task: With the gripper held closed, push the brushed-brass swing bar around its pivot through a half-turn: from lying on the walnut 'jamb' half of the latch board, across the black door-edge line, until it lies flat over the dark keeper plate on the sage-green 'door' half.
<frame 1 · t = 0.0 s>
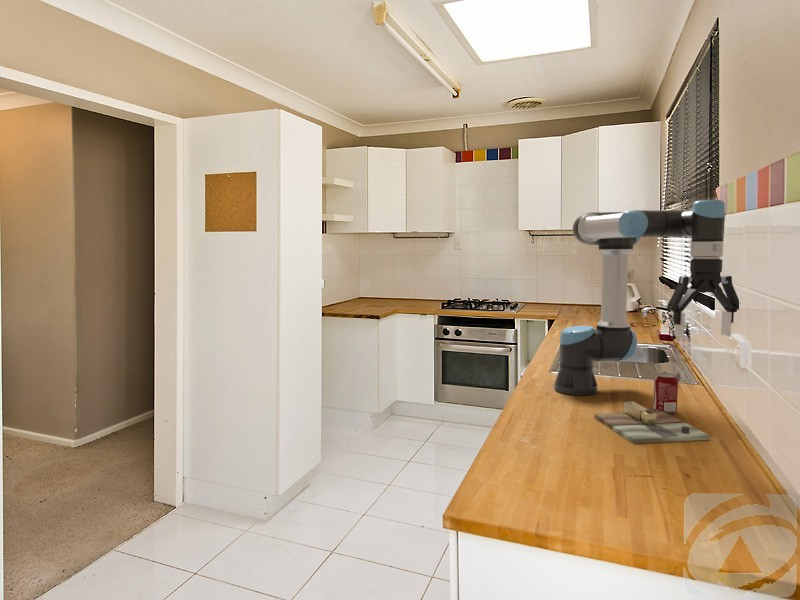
hand: (702, 335, 146), 28 cm above the counter, fingers open, 13 cm apart
latch board: (648, 427, 154), on the counter
swing bar: (640, 411, 159), point 4 cm above the counter, hinge at 0.0°
soda can: (664, 412, 170), on the counter
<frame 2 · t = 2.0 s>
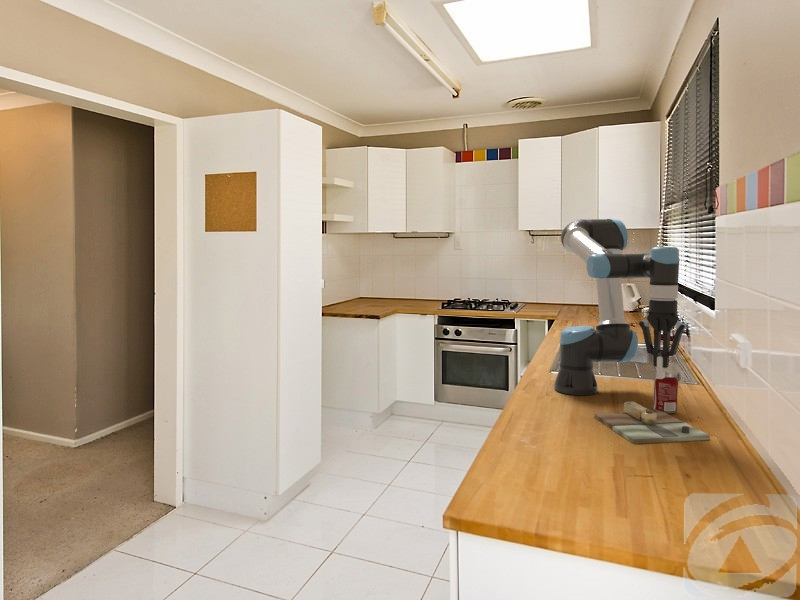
hand: (660, 377, 159), 13 cm above the counter, fingers closed
nothing on the counter moved.
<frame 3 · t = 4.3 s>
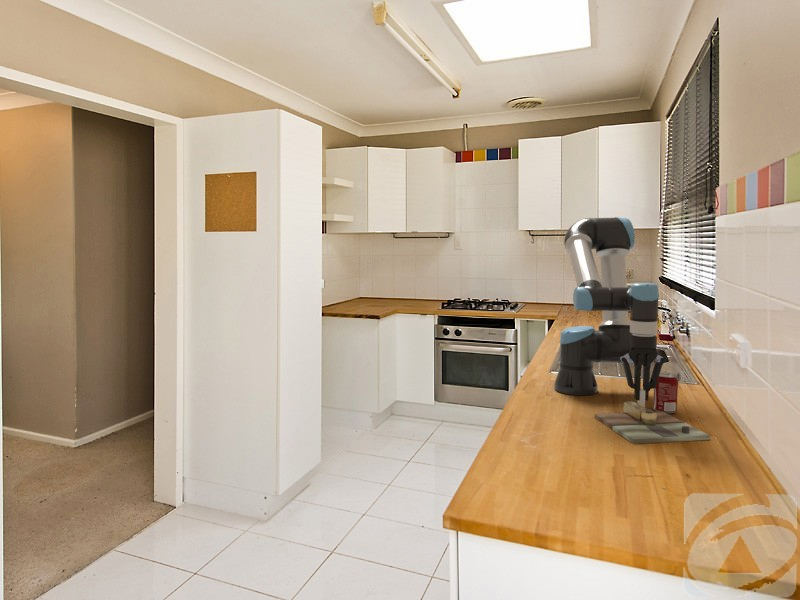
hand: (640, 410, 163), 3 cm above the counter, fingers closed
swing bar: (640, 411, 159), point 4 cm above the counter, hinge at 0.5°, touching gripper
everything else where it was.
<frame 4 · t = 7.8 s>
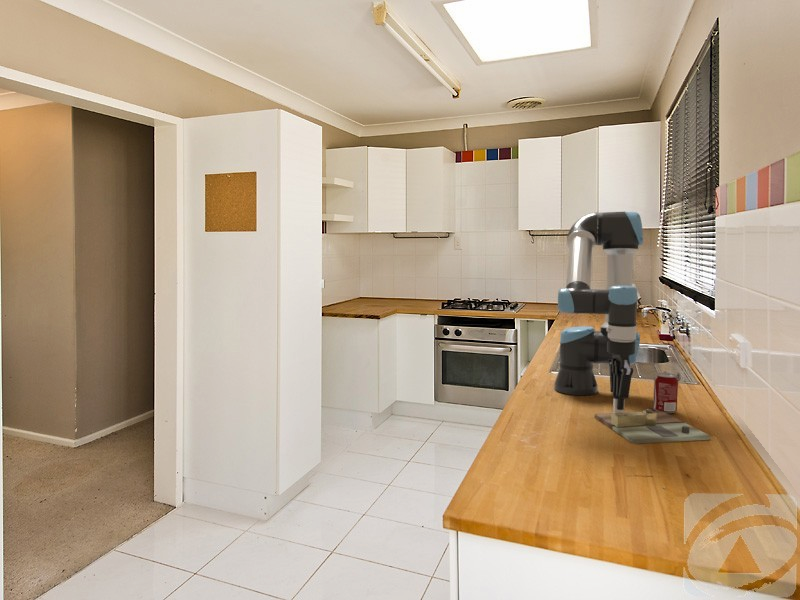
hand: (618, 419, 155), 2 cm above the counter, fingers closed
swing bar: (634, 417, 153), point 4 cm above the counter, hinge at 94.9°, touching gripper
everything else where it was.
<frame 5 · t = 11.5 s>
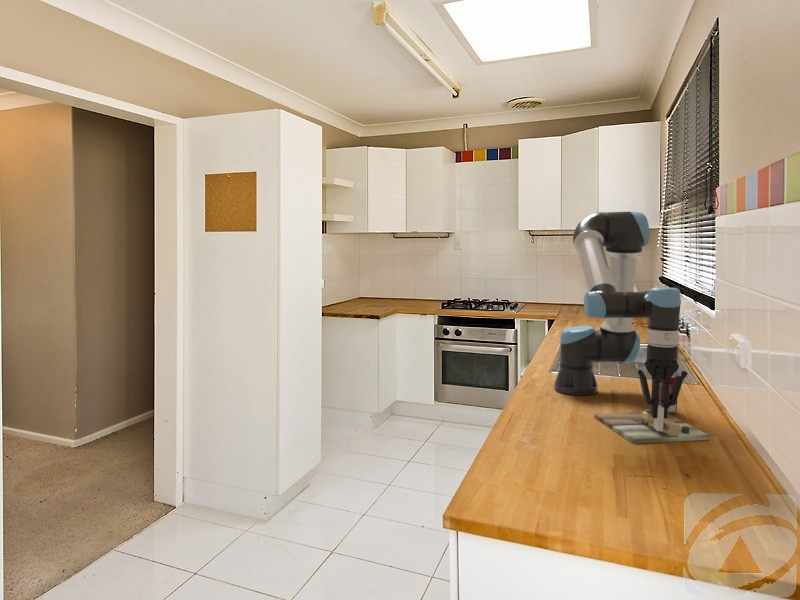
hand: (658, 429, 146), 2 cm above the counter, fingers closed
swing bar: (658, 421, 150), point 4 cm above the counter, hinge at 183.5°, touching gripper
everything else where it was.
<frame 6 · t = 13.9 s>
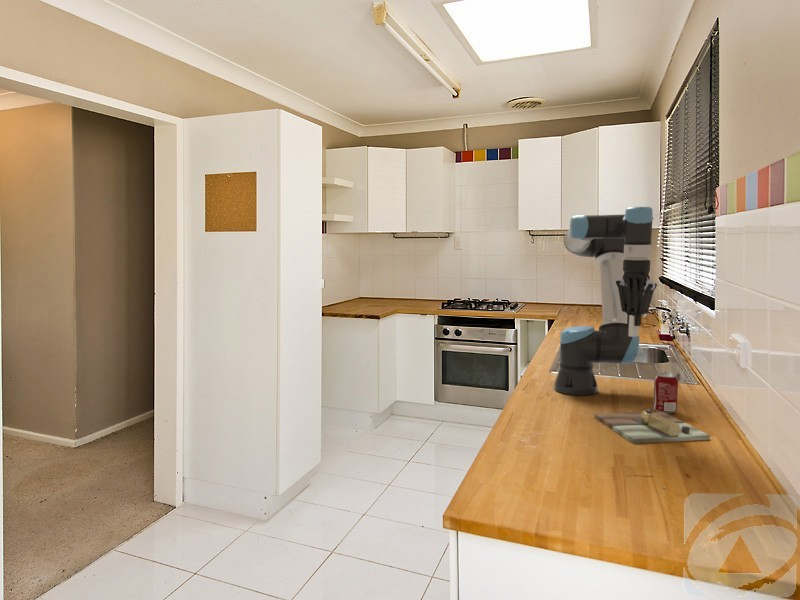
hand: (633, 335, 163), 25 cm above the counter, fingers closed
swing bar: (658, 421, 150), point 4 cm above the counter, hinge at 183.5°
everything else where it was.
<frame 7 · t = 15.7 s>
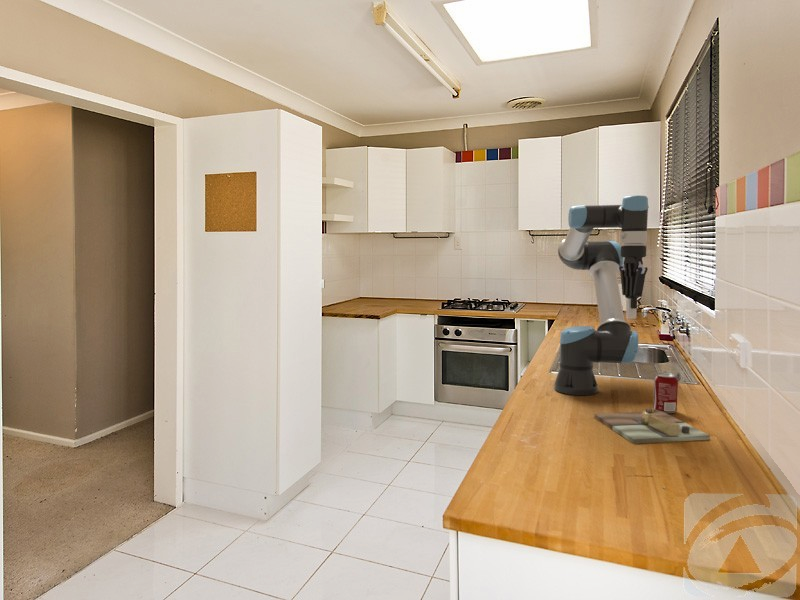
hand: (631, 318, 172), 29 cm above the counter, fingers closed
nothing on the counter moved.
at the end: swing bar at +184° (first picture: +0°) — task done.
